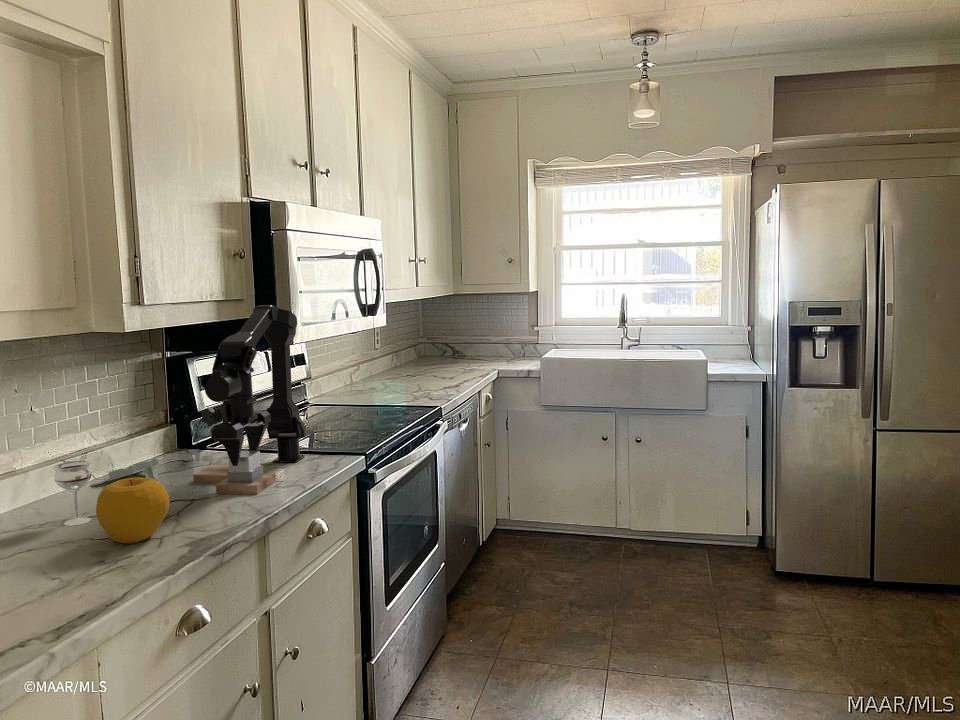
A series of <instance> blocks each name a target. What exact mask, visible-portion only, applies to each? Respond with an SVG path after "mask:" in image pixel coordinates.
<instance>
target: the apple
mask: <svg viewBox="0 0 960 720" xmlns="http://www.w3.org/2000/svg"><path fill="white" fill-rule="evenodd" d="M170 502H171V501H170V496H169V494H168V491H167V489H166V487H165V486H164V485H163V484H162V483H161V482H160V481H159V480H157V479H151V478H146V477H143V476H140V477H139V476H137V477H133V476H132V477H127V478H122V479H119V480H116V481H114V482H112V483H109V484H107V485H106V486H105V487H104V488H103V489H102V490H101V491H100V493H98V496H97V501H96V507H95V515H96V518H97V521H98V523H99V525H100V527H101V528H102V530H104V532H105V533H106V534H107V536H108V537H109V538H110V539H111V540H113V541H114V542H117V543H120V544H129V545H130V544H136V543H139V542H143V541H146V539H149V537H151V536H153V535H154V534H155V533H157V531H158V530H159V528H160V526H161V524H162V523H163V522H164V519H165V517H166V515H167V514H168V512H169V508H170Z"/></svg>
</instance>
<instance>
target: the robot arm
mask: <svg viewBox="0 0 960 720" xmlns="http://www.w3.org/2000/svg"><path fill="white" fill-rule="evenodd" d="M252 310H253V311H252V313H251V315H250V316H249V317H248V318H247V320H246V321H245V322H244V323H243V325H242V326H241V328H240V329H239V330H238V331H237V333H235V334H232V335H228V336H227V337H226V338H225V339H223V340H222V341H221V342H220V344H219V346H218V348H217V351H216V355H215V357H214V358H215V359H214V362H213V365H212V372H211V374H212V375H211V377H210V378H208V380H207V381H206V383H205V386H204V392H205V395H206V397H207V398H208V399H209V400H211V402H214V403H221V404H222V406H221V407H219V408H217V409H214V408H213V407H207V408H205V409H203V410H201V422H202V423H203V424H206V425H207V427H208V428H209V427H211V429H210V430H209V432H210V439H212V440H214V441H215V442H219V443H220V444H221V445H223V447H224V449H225V452H226V453H227V456H228V459H229V458H230V461H231V463H232V465H233V466H237V465H238V462H239V459H240V454H241V451H242V450H243V446H244V445H243V444H244V441H245V440H244V439H245V436H243V434H244V432H245V435H246V437H247V439H246V440H247V444H248V449H249V450H248V451H259V447H260V444H261V443H262V439H263V438H264V435H265V433H266V431H267V436H268V439H269V440H270V439H276V446H277V447H276V449H277V458H274V459H273V460H272V462H273V463H297V462H299V461H300V460H302V459H303V458H304V457H306V456H305V454H301V451H300V439H304V438H306V436H307V427H306V425H305V423H304V421H303V419H302V418H301V416H300V410H299V407H298V406H297V404H296V403H295V402H294V400H293V392H292V391H293V390H292V389H293V388H292V369H291V368H292V367H291V366H292V365H291V361H292V360H291V344H292V342H293V340H294V338H295V337H296V334H297V331H296V330H297V326H298V318H297V315H295V314H294V313H293V311H291V310H286V309H283V308H279V307H277V306H275V305H272V304H262V305H261V304H260V305H259V304H258V305H257V306H254V308H253V309H252ZM262 336H263V337H265V339H266V340H267V342H268V343H269V345H270V354H271V355H270V357H271V359H270V360H271V376H272V377H271V380H272V381H271V382H272V383H271V384H272V402H271V404H270V405H269V407H267V408H266V410H255V409H254V403H255V402H257V396H254V395H253V385H252V384H253V381H252V379H253V378H252V373H254V371H255V369H254V368H253V367H252V364H253V362H254V360H255V359H256V355H257V354H258V351H257V349H256V346H257V344H258V342H259V341H260V339H261V338H262Z"/></svg>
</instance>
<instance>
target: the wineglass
mask: <svg viewBox="0 0 960 720" xmlns="http://www.w3.org/2000/svg"><path fill="white" fill-rule="evenodd" d="M89 465H91V461H89V460H73V461H66V462H62V463H58V464H55V465H54V466H53V469H54V471H55V472H54V476H53V478H54V481H55V483H56V485H57V486H59V487H60V488H61V489H64V490H68V491H70V492H71V493H72V498H73V505H74V510H75V511H74V512H75V517H74V518H71V519H68V520H66V521H65V522H63V525H65V526H70V527H71V526H80V525H83V524H86V523H89V522H91V520H92V518H90V517H87V516H86V517H80V516H79V506H78V504H79V503H78V492H80V491H79V490H80V489H81V488H83V487H84V486H86V485H87V484H88V483H89V482H90V480H91V477H92V470H91V468H90V466H89Z"/></svg>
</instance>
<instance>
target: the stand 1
mask: <svg viewBox="0 0 960 720" xmlns="http://www.w3.org/2000/svg"><path fill="white" fill-rule="evenodd" d="M228 471H229V463H213V464H211V465H209V466H207V467H206V468H203V469H202V470H199V471H197V472H196V473H194V474H192V479H193V484H218V483H220V482H222V481H223V480H225V479H227V478H228V477H227V472H228Z"/></svg>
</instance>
